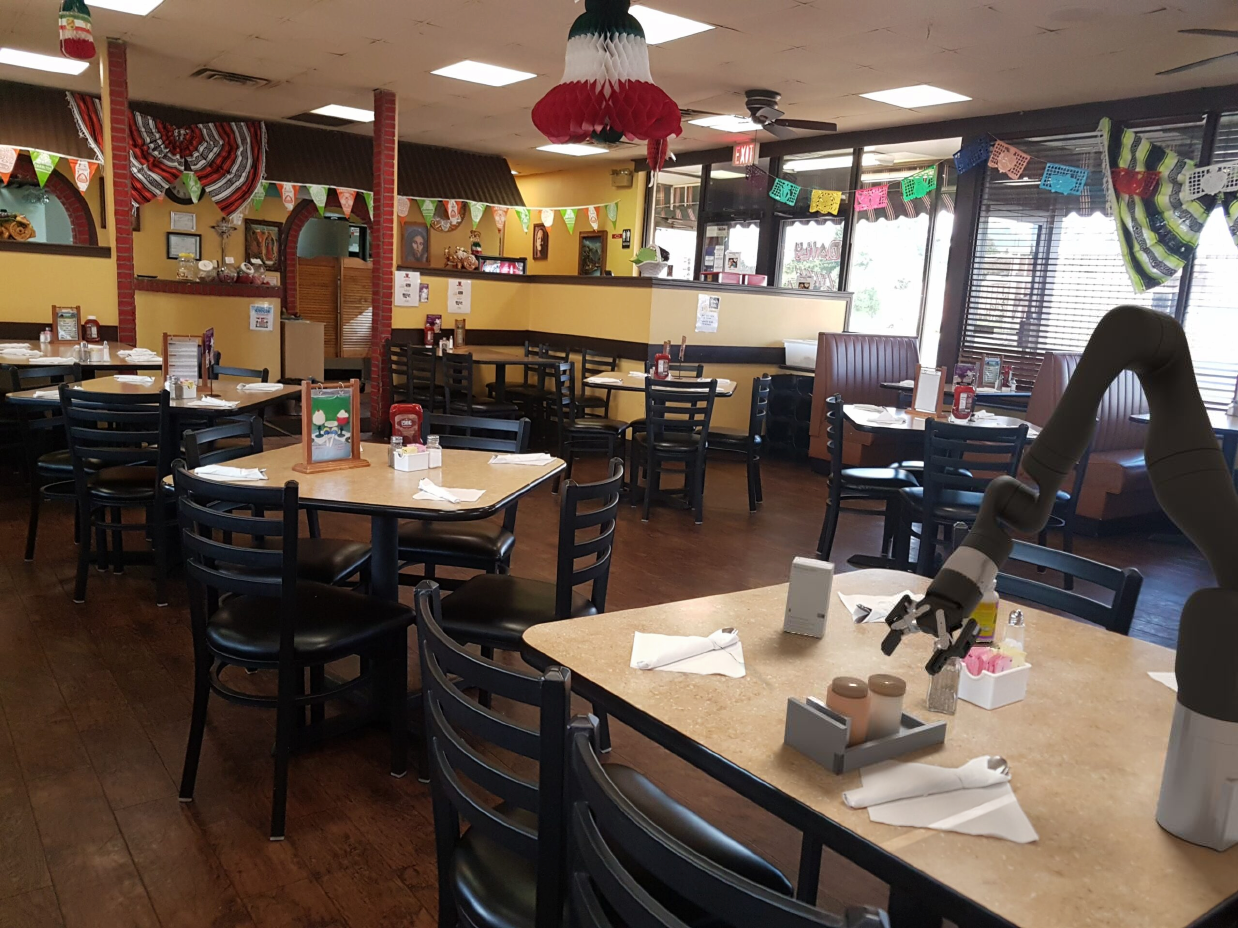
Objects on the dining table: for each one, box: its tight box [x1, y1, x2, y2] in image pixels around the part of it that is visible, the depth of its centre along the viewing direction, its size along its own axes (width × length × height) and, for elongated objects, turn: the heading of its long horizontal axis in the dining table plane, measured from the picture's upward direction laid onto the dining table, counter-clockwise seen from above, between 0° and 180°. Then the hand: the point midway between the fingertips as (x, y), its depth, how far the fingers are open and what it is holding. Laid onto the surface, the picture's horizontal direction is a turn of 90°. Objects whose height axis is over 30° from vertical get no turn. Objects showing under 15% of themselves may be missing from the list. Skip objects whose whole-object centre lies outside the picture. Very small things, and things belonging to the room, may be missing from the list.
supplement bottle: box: [959, 579, 1000, 643], centre depth 190 cm, size 7×7×13 cm
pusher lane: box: [783, 696, 948, 776], centre depth 140 cm, size 11×23×8 cm, turn 123°
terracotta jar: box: [825, 675, 872, 748], centre depth 137 cm, size 6×6×10 cm
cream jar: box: [867, 673, 907, 741], centre depth 141 cm, size 6×6×9 cm
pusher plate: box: [805, 695, 851, 749], centre depth 135 cm, size 8×2×7 cm, turn 33°
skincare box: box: [782, 556, 836, 639], centre depth 188 cm, size 8×6×15 cm
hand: (906, 662), depth 142 cm, fingers open, 8 cm apart
